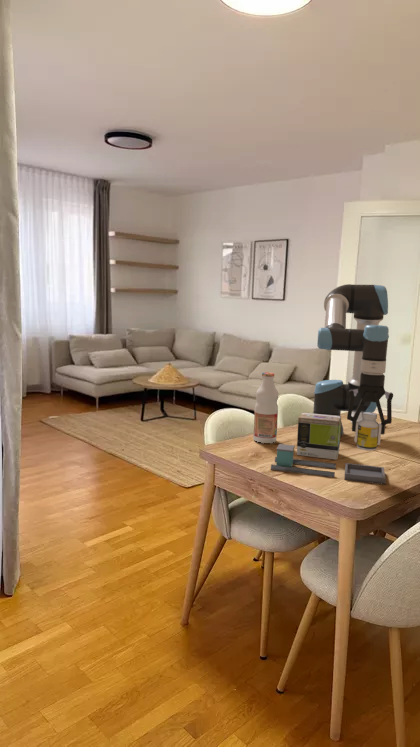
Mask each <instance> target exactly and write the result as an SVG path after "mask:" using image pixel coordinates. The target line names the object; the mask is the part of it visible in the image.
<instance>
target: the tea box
mask: <svg viewBox="0 0 420 747" xmlns="http://www.w3.org/2000/svg"><path fill="white" fill-rule="evenodd" d="M297 419H298V420H297V435H296V438H297V440H296V455H297V456H304V457H312V458H320V459H329V460H338V456H339V454H340V446H341V444H340V443H341V436H340V431H341V422H342V415H340V416H335V415H324V414H313V412H312V413H311V412H302V413H301V414H300V415H299V416H298V418H297Z"/></svg>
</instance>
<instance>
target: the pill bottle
mask: <svg viewBox="0 0 420 747" xmlns="http://www.w3.org/2000/svg"><path fill="white" fill-rule="evenodd" d="M362 418H363V419H362V420H360V421H359V423H358V436H357V442H356V447H357V448H358V449H359V450H364V451H376V450H377V447H378V444H377V442H378V431H379V422H378V421H377V418H378V414H377V413H375V412H373V413H369V412H364V413H362Z"/></svg>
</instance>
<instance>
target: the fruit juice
mask: <svg viewBox="0 0 420 747" xmlns="http://www.w3.org/2000/svg"><path fill="white" fill-rule="evenodd" d="M261 377H262V380H261V384H260V385H259V387H258V388H257V389H256V392H255V399H256V402H255V404H254V414H253V416H254V417H253V418H254V420H253V434H252V435H253V436H252V437H253V439H252V440H253V441H254V440H255V441H257V442H256V443H258V442H261V443H260V444H264V443H270V444H274V443H276V442H277V435H278V420H279V419H278V416H279V406H278V400H279V392H278V390H277V387H276V385H275V382H274V381H275V380H274V378H275V373H274V372H269V371H267V372H266V371H265V372H262V373H261ZM255 441H254V442H255ZM275 441H276V442H275ZM273 442H274V443H273Z"/></svg>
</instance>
